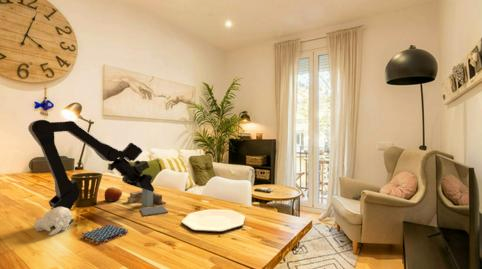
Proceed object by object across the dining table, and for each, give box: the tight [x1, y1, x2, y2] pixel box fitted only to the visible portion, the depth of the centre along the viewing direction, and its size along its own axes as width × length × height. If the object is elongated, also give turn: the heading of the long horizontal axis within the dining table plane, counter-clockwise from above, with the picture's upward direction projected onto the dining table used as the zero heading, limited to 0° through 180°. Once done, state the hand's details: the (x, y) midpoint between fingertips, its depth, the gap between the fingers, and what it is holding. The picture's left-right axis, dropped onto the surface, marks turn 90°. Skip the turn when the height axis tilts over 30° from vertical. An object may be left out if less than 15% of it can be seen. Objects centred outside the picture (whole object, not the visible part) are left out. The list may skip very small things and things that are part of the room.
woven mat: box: [80, 224, 129, 246], centre depth 77 cm, size 10×11×2 cm
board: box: [141, 188, 154, 208], centre depth 113 cm, size 3×5×9 cm, turn 50°
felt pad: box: [139, 205, 169, 217], centre depth 104 cm, size 10×10×1 cm
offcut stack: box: [127, 190, 142, 204], centre depth 120 cm, size 7×4×4 cm, turn 140°
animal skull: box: [33, 207, 73, 237], centre depth 80 cm, size 6×8×12 cm
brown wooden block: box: [153, 192, 167, 206], centre depth 119 cm, size 4×12×4 cm, turn 50°
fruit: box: [104, 186, 123, 204], centre depth 120 cm, size 8×8×8 cm
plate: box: [181, 208, 246, 233], centre depth 92 cm, size 24×24×2 cm
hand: (148, 189), depth 114 cm, fingers open, 9 cm apart
